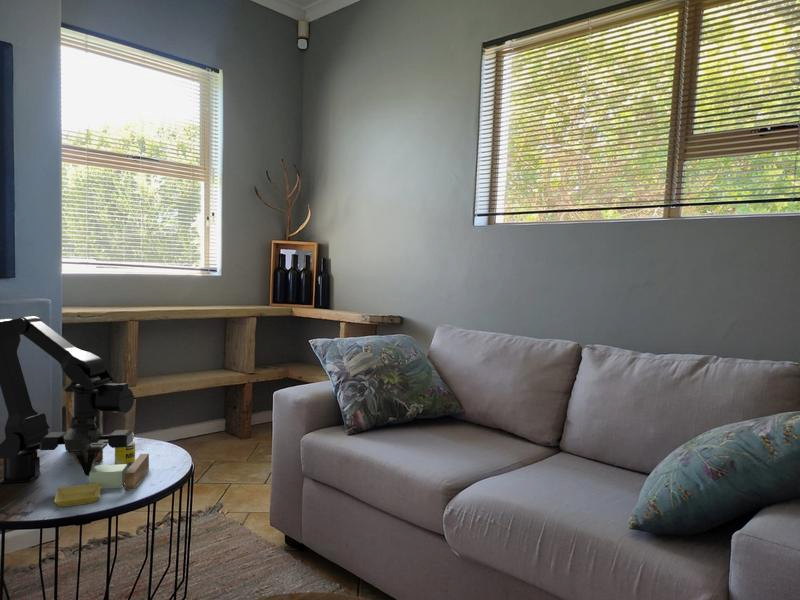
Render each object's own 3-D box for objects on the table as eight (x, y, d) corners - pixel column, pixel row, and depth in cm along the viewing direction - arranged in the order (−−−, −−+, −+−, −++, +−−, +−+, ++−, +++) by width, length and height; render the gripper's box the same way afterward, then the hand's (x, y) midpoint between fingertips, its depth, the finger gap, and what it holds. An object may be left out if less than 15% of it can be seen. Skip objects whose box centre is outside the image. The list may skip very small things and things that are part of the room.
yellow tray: (101, 491, 132) (101, 482, 132) (99, 504, 124) (99, 495, 124) (57, 496, 128) (57, 487, 128) (53, 511, 120) (53, 501, 120)
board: (124, 490, 132) (124, 473, 131) (140, 469, 145) (140, 453, 145) (134, 489, 132) (133, 472, 132) (148, 468, 146) (148, 453, 145)
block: (89, 489, 132) (89, 472, 132) (95, 481, 137) (95, 465, 136) (122, 487, 133) (122, 471, 133) (127, 480, 138) (127, 464, 138)
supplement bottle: (126, 470, 145) (126, 437, 144) (110, 468, 145) (110, 436, 145) (139, 464, 149) (139, 432, 149) (123, 462, 150) (123, 431, 150)
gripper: (28, 420, 124) (29, 490, 125) (119, 418, 128) (119, 486, 128) (49, 408, 135) (50, 472, 136) (133, 406, 138) (133, 469, 139)
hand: (87, 475), depth 134 cm, fingers closed
